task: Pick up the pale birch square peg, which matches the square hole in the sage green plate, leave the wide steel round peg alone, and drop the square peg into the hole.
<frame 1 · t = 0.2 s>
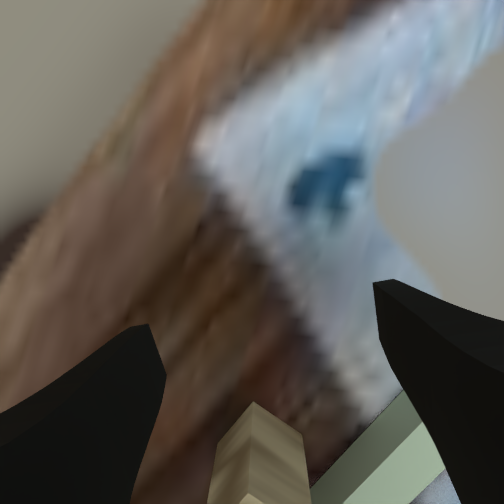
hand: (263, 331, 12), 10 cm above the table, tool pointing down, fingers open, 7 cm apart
square peg: (259, 439, 25), on the table
hole plate: (427, 486, 25), on the table
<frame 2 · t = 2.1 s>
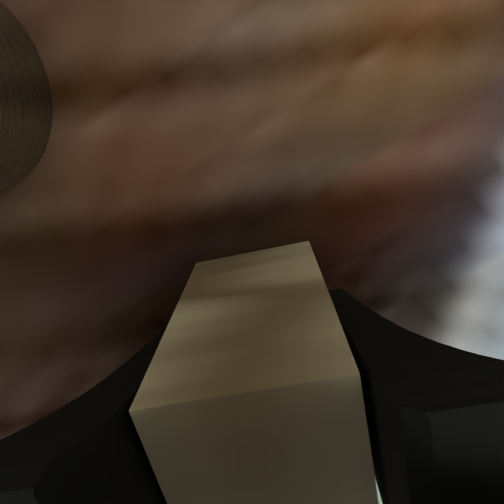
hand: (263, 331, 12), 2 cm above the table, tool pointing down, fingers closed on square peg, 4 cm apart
square peg: (263, 302, 13), on the table, touching gripper
when the fingers open (4 cm above the table, at t = 5.7 s): square peg drops 2 cm, resting in hole plate.
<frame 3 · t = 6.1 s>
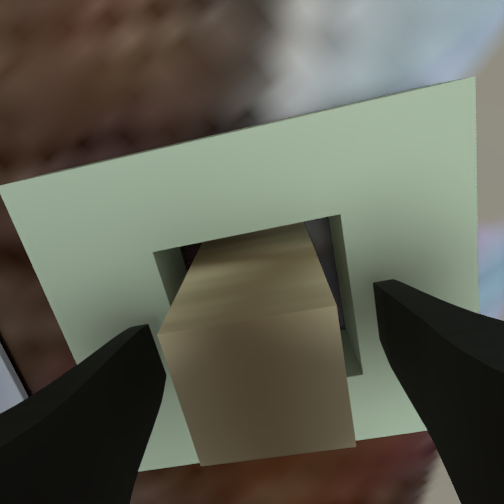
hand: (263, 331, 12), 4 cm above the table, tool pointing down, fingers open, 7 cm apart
square peg: (262, 275, 15), resting in hole plate
hole plate: (263, 280, 15), on the table
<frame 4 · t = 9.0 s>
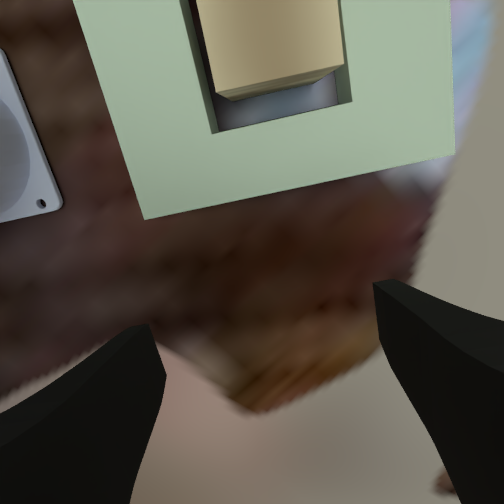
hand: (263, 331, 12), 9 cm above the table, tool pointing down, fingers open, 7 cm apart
square peg: (264, 47, 17), resting in hole plate
hole plate: (265, 51, 17), on the table
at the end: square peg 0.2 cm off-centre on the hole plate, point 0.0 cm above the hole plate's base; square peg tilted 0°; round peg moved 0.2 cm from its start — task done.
